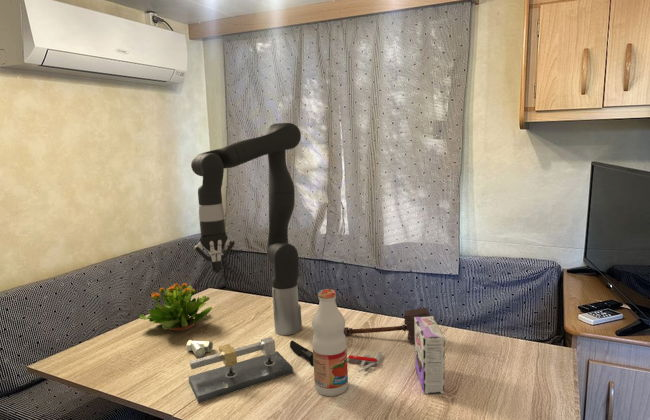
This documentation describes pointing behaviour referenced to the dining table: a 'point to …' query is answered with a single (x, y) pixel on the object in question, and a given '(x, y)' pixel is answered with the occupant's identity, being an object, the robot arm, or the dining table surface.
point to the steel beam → (238, 353)
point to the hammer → (408, 322)
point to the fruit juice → (329, 346)
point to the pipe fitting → (199, 347)
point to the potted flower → (177, 308)
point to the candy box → (429, 354)
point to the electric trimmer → (302, 352)
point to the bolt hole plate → (238, 376)
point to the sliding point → (228, 356)
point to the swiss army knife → (364, 360)
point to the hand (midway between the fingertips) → (216, 272)
